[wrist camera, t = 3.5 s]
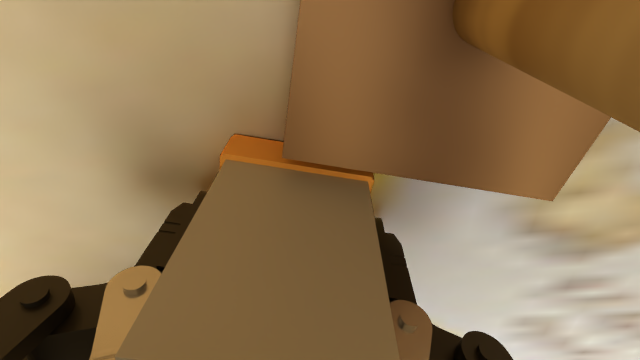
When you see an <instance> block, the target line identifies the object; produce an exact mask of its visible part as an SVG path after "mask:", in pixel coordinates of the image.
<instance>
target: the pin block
mask: <svg viewBox="0 0 640 360" xmlns="http://www.w3.org/2000/svg"><path fill="white" fill-rule="evenodd" d="M611 117H612V118H614V119H616V120H618V121H620V122H622V123H624V124H626V125H627V126H629V127H631V128H633V129H635V130H637V131H639V132H640V0H301V1H300V9H299V18H298V26H297V34H296V43H295V51H294V60H293V68H292V76H291V85H290V93H289V102H288V110H287V119H286V127H285V135H284V144H283V152H282V158H285V159H292V160H298V161H304V162H310V163H317V164H323V165H329V166H335V167H342V168H348V169H354V170H361V171H367V172H373V173H379V174H386V175H392V176H398V177H404V178H411V179H417V180H423V181H429V182H436V183H442V184H448V185H455V186H461V187H467V188H473V189H480V190H486V191H492V192H498V193H505V194H511V195H517V196H523V197H530V198H536V199H542V200H549V201H553V200H554V198H555V197H556V195H557V194H558V192H559V191H560V190H561V188H562V187H563V185H564V184H565V182H566V181H567V180H568V178H569V177H570V175H571V174H572V172H573V171H574V170H575V168H576V167H577V165H578V164H579V162H580V161H581V160H582V158H583V157H584V155H585V154H586V152H587V151H588V150H589V148H590V147H591V145H592V144H593V142H594V141H595V140H596V138H597V137H598V135H599V134H600V132H601V131H602V130H603V128H604V127H605V125H606V124H607V122H608V121H609V120H610V118H611Z"/></svg>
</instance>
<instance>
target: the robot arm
mask: <svg viewBox="0 0 640 360" xmlns="http://www.w3.org/2000/svg"><path fill="white" fill-rule="evenodd" d="M206 194H207V192H205V191H201V192H200V193H199V194H198V196H197V198H196V199H195V201H194V203H193V204H190V203H182V204H181V205H179V206H178V207H176V208H175V209H173V210H172V211H171V212H170V214H169V215H168V217H167V218H166V220H165V222H164V223H163V224H162V226H161V227H160V229H159V232H157V233H156V235H155V236H154V238H153V239H152V241H151V242H150V244H149V245H148V247H147V248H146V250H145V251H144V253H143V254H142V256H141V257H140V259H139V260H138V262H137V263H136V265H135V266H134V267H131V268H127V269H125V270H123V271H121V272H119V273H118V274H116V275H115V276H114V277H113V278H112V279H111V280H110V281H109V282H108V283H105V284H99V285H92V286H84V287H77V288H71V287H70V284H69V283H68V281H67V280H66V279H64V278H62V277H59V276H41V277H37V278H34V279H31V280H28V281H26V282H24V283H22V284H20V285H18V286H16V287H15V288H13V289H12V290H11V291H9V292H8V293H7V294H5V295H4V296H3V297H1V298H0V360H116V359H115V355H116V354H117V352H118V350H119V348H120V347H121V345H122V343H123V341H124V339H125V338H126V336H127V334H128V332H129V331H130V329H131V327H132V325H133V323H134V322H135V320H136V318H137V316H138V315H139V313H140V311H141V309H142V307H143V306H144V304H145V302H146V300H147V299H148V297H149V295H150V293H151V291H152V290H153V288H154V286H155V284H156V283H157V281H158V279H159V277H160V275H161V274H162V272H163V270H164V268H165V267H166V265H167V263H168V261H169V259H170V258H171V256H172V254H173V252H174V251H175V249H176V247H177V245H178V243H179V242H180V240H181V238H182V236H183V235H184V233H185V231H186V229H187V227H188V226H189V224H190V222H191V220H192V219H193V217H194V215H195V213H196V211H197V210H198V208H199V206H200V204H201V203H202V201H203V199H204V197H205V195H206ZM374 218H375V224H376V229H377V235H378V241H379V246H380V252H381V257H382V263H383V269H384V274H385V280H386V285H387V291H388V297H389V302H390V308H391V313H392V319H393V325H394V330H395V336H396V341H397V347H398V353H399V358H400V360H513V359H512V357H511V356H510V354H509V353H508V351H507V350H506V349H505V348H504V346H503V345H502V344H501V343H500V342H498V341H497V340H496V339H495V338H493V337H491V336H490V335H488V334H486V333H483V332H479V331H471V332H468V333H466V334H465V335H464V336H463V338H461V337H459V336H456V335H454V334H452V333H449V332H447V331H445V330H442V329H440V328H438V327H437V326H435V325H433V324H432V323H431V320H430V318H429V317H428V315H427V314H426V312H425V311H424V310H423V309H422V308H420V307H419V306H418V305H417V303H416V299H415V295H414V291H413V287H412V284H411V280H410V276H409V272H408V268H407V264H406V260H405V258H404V253H403V249H402V245H401V243H400V242H399V241H398V239H397V238H396V237H395V235H394V234H391V233H385V232H384V227H383V222H382V219H381V218H376V217H374Z"/></svg>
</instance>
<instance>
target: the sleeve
mask: <svg viewBox="0 0 640 360" xmlns="http://www.w3.org/2000/svg"><path fill="white" fill-rule="evenodd" d="M283 144H284V142H279V141H273V140H267V139H261V138H255V137H249V136H243V135H236V134H234V136H231V138H230V140H229V141H228V143H227V145H226V146H225V148H224V150H223V151H222V153H221V154H220V171H219V172H218V174H217V176H216V178H215V179H214V181H213V183H212V185H211V187H210V188H209V190H208V192H207V194H206V195H205V197H204V199H203V201H202V203H201V204H200V206H199V208H198V210H197V211H196V213H195V215H194V217H193V219H192V220H191V222H190V224H189V226H188V227H187V229H186V231H185V233H184V235H183V236H182V238H181V240H180V242H179V243H178V245H177V247H176V249H175V251H174V252H173V254H172V256H171V258H170V259H169V261H168V263H167V265H166V267H165V268H164V270H163V272H162V274H161V275H160V277H159V279H158V281H157V283H156V284H155V286H154V288H153V290H152V291H151V293H150V295H149V297H148V299H147V300H146V302H145V304H144V306H143V307H142V309H141V311H140V313H139V315H138V316H137V318H136V320H135V322H134V323H133V325H132V327H131V329H130V331H129V332H128V334H127V336H126V338H125V339H124V341H123V343H122V345H121V347H120V348H119V350H118V352H117V354H116V355H115V359H116V360H400V358H399V353H398V347H397V341H396V336H395V330H394V325H393V319H392V313H391V308H390V302H389V297H388V291H387V285H386V280H385V274H384V269H383V263H382V257H381V252H380V246H379V241H378V235H377V229H376V224H375V218H374V213H373V207H372V201H371V196H370V193H371V190H372V187H373V183H374V175H373V172H367V171H361V170H354V169H348V168H342V167H335V166H329V165H323V164H317V163H310V162H304V161H298V160H292V159H285V158H282V152H283Z"/></svg>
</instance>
